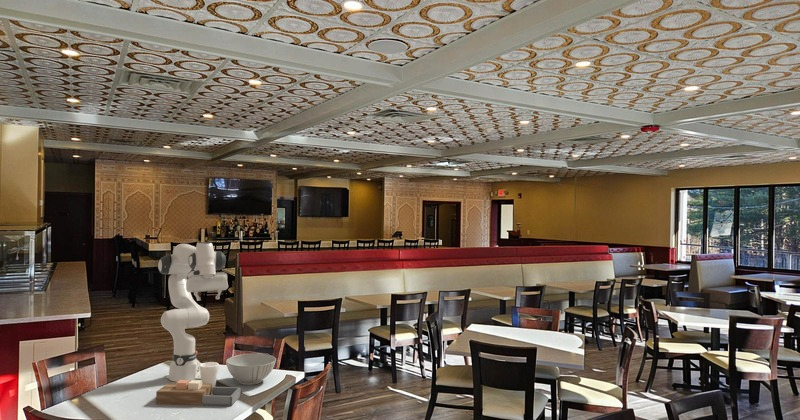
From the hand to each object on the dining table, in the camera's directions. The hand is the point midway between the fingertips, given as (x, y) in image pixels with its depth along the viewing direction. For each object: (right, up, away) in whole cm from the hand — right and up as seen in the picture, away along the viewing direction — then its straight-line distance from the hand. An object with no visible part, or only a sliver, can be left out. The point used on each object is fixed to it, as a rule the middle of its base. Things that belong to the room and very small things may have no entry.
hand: (208, 299), depth 267 cm
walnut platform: (-10, -49, -4) cm, 50 cm away
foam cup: (-4, -50, +13) cm, 51 cm away
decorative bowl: (+13, -50, +28) cm, 59 cm away
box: (+8, -49, -4) cm, 50 cm away
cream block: (-5, -43, -4) cm, 44 cm away
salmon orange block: (-11, -43, -4) cm, 44 cm away
